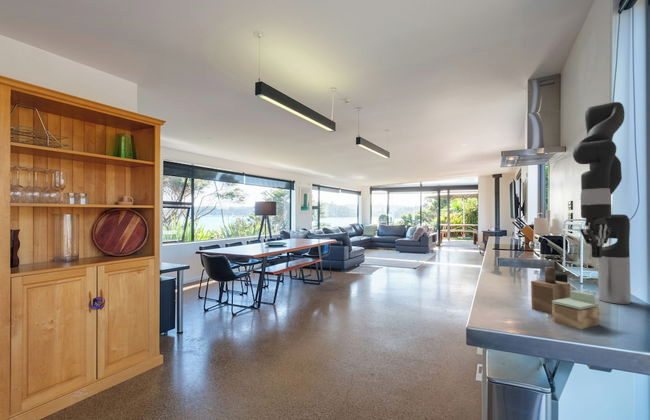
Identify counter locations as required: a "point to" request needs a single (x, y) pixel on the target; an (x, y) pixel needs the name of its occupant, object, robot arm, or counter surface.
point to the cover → (548, 291)
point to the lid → (577, 300)
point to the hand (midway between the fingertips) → (597, 257)
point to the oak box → (575, 316)
